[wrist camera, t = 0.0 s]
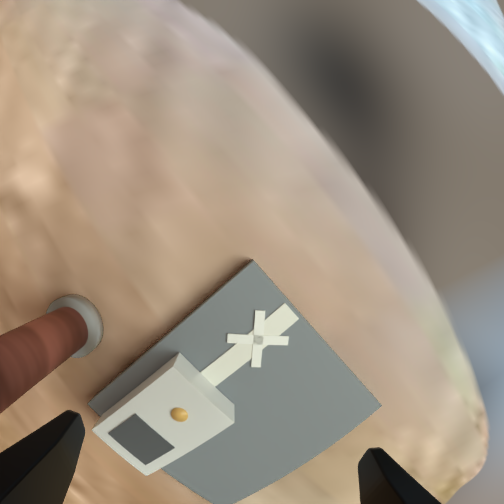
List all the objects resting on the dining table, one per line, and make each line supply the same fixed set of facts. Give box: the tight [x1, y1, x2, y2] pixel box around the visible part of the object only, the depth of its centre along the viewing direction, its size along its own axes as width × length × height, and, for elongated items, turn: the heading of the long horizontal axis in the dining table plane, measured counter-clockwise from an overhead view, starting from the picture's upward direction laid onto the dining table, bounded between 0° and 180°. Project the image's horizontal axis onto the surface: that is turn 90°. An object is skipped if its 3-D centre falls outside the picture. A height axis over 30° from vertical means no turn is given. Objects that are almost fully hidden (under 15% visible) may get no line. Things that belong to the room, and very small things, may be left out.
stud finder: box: [92, 352, 234, 476], centre depth 21 cm, size 10×6×3 cm, turn 131°
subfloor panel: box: [88, 259, 382, 504], centre depth 23 cm, size 19×17×1 cm
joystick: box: [0, 294, 103, 413], centre depth 16 cm, size 5×5×14 cm
